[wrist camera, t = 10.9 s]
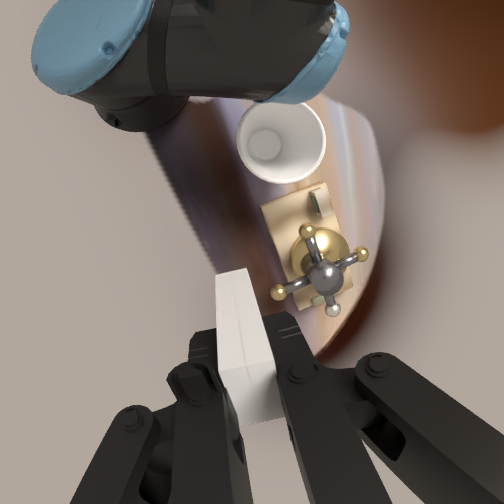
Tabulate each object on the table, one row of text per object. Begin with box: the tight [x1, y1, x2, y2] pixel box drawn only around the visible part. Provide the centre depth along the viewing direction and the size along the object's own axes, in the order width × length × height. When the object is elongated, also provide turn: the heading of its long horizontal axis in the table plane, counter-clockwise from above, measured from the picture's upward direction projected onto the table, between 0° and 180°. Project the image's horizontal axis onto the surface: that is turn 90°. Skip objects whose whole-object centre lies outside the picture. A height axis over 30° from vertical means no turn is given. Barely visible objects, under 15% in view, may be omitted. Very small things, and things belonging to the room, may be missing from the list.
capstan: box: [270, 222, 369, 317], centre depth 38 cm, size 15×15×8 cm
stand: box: [259, 182, 353, 311], centre depth 41 cm, size 18×10×5 cm, turn 21°
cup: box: [236, 102, 326, 184], centre depth 33 cm, size 10×10×11 cm
